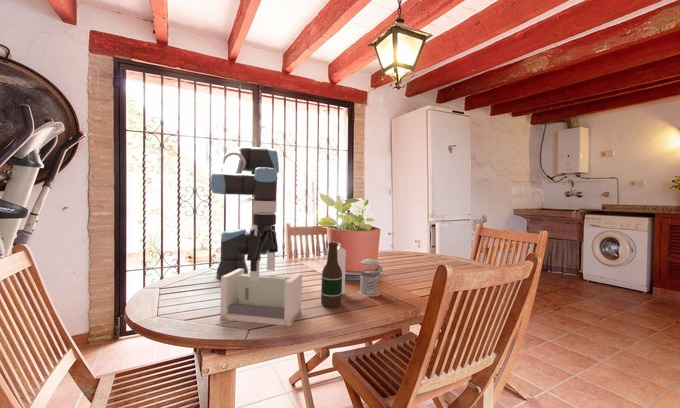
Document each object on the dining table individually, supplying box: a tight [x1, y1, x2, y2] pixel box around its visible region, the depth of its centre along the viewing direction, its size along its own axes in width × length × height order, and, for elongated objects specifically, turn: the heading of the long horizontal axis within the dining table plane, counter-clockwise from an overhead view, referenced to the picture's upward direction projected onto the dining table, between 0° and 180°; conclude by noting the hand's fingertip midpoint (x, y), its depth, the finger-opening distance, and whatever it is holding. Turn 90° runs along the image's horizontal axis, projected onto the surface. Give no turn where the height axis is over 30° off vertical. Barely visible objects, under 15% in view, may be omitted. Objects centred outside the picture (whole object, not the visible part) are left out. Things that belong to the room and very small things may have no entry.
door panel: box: [238, 273, 288, 309], centre depth 105 cm, size 16×3×12 cm, turn 81°
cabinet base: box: [219, 269, 303, 327], centre depth 105 cm, size 24×12×14 cm, turn 81°
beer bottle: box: [320, 241, 342, 309], centre depth 117 cm, size 8×8×24 cm
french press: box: [358, 236, 383, 295], centre depth 132 cm, size 10×12×25 cm
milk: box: [325, 241, 347, 295], centre depth 131 cm, size 6×6×22 cm
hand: (263, 275), depth 105 cm, fingers open, 13 cm apart
